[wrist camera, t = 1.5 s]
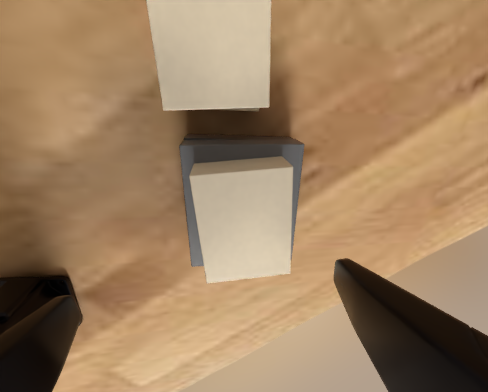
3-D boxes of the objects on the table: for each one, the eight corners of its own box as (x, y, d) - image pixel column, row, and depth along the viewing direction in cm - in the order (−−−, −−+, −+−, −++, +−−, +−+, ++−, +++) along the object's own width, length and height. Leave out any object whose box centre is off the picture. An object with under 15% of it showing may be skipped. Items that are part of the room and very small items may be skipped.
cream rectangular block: (281, 251, 19) (290, 273, 16) (208, 259, 18) (206, 283, 16) (282, 155, 16) (293, 166, 13) (193, 163, 15) (188, 175, 13)
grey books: (279, 237, 23) (290, 264, 19) (192, 239, 22) (187, 267, 18) (292, 135, 19) (309, 144, 15) (186, 131, 18) (178, 140, 15)
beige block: (255, 110, 18) (269, 114, 13) (170, 106, 17) (152, 110, 13) (264, -28, 15) (285, -88, 10) (159, -40, 14) (129, -110, 9)
